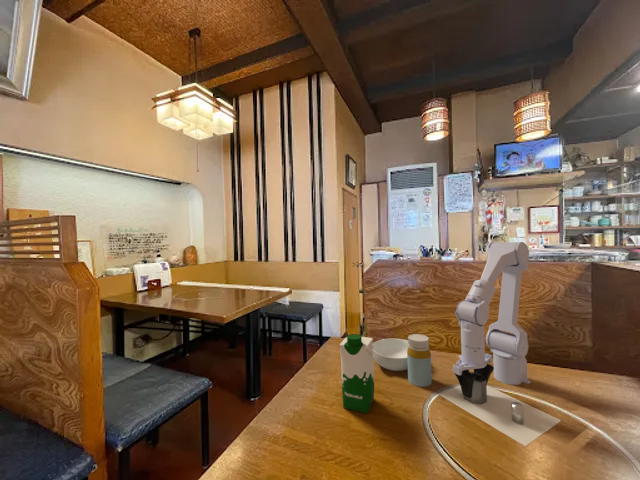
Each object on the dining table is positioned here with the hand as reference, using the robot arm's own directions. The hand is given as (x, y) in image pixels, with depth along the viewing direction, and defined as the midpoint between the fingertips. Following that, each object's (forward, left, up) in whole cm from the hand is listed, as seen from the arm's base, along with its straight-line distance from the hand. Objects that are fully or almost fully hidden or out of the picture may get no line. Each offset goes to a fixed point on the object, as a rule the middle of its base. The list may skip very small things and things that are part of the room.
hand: (474, 392), depth 76 cm
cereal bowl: (+4, -27, -3) cm, 27 cm away
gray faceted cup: (0, 0, -1) cm, 1 cm away
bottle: (+6, -14, -3) cm, 15 cm away
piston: (0, +11, -1) cm, 11 cm away
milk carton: (+28, -16, -3) cm, 32 cm away
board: (-1, +5, -3) cm, 6 cm away
